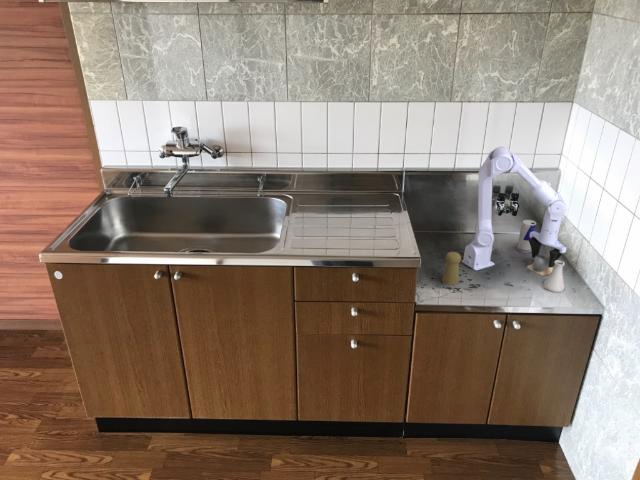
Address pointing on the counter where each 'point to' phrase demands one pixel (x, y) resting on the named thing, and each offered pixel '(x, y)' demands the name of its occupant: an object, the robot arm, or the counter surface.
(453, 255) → the pepper shaker
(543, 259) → the plug
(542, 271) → the coaster
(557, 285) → the flask
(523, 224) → the energy drink
